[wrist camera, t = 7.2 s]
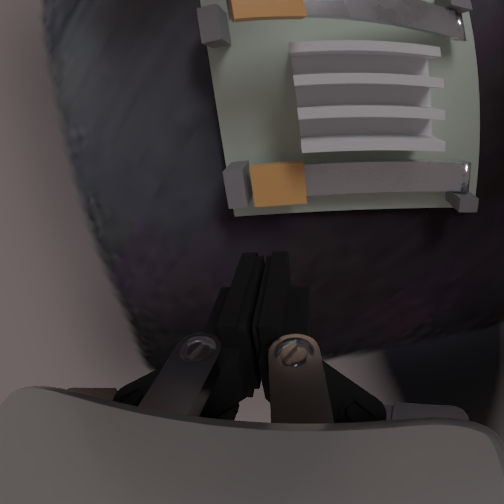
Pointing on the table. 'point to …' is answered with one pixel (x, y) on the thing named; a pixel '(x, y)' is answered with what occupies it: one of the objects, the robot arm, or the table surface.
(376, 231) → the table surface
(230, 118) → the cooler board
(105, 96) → the table surface
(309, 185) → the strap
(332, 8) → the strap
